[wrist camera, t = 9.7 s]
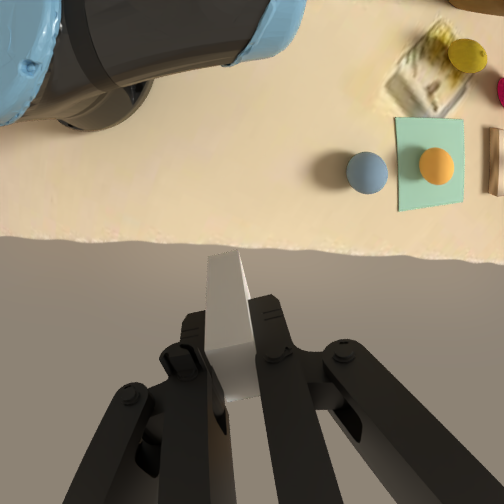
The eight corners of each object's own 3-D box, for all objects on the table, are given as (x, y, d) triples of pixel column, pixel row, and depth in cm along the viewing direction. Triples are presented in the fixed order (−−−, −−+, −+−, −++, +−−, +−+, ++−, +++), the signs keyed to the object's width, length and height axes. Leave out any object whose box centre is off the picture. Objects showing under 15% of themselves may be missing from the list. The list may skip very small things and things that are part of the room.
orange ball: (455, 155, 32) (458, 150, 36) (418, 145, 36) (424, 141, 39) (448, 193, 35) (452, 185, 39) (413, 182, 38) (420, 175, 42)
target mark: (398, 211, 42) (399, 211, 42) (394, 117, 37) (395, 117, 36) (462, 201, 43) (463, 201, 43) (462, 119, 37) (463, 119, 37)
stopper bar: (497, 191, 43) (506, 195, 40) (488, 192, 43) (497, 196, 40) (498, 128, 38) (508, 130, 36) (489, 127, 38) (499, 129, 35)
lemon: (452, 80, 34) (487, 79, 27) (433, 52, 32) (466, 46, 25) (467, 63, 33) (500, 61, 26) (448, 36, 31) (481, 30, 24)
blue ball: (395, 158, 33) (384, 152, 38) (352, 151, 34) (345, 147, 38) (389, 201, 35) (379, 190, 40) (347, 196, 36) (341, 186, 41)
